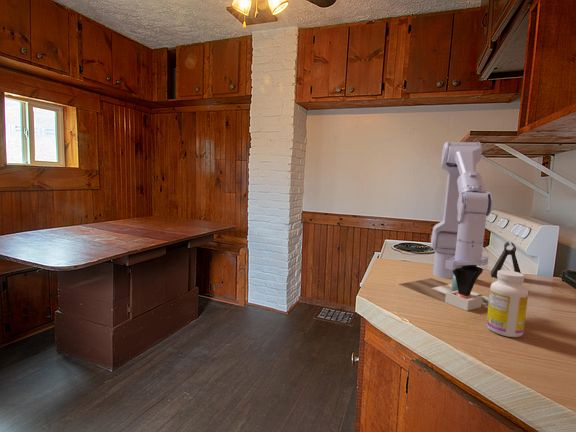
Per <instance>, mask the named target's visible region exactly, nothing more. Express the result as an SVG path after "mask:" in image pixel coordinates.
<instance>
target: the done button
mask: <svg viewBox="0 0 576 432" xmlns="http://www.w3.org/2000/svg"><path fill="white" fill-rule="evenodd" d="M456 295H457V296H460V297H462V298H465V299H470V298H472V295H469V296H464V295H461V294H459V293H458V292H457V293H456Z"/></svg>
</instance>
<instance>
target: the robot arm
mask: <svg viewBox="0 0 576 432" xmlns="http://www.w3.org/2000/svg"><path fill="white" fill-rule="evenodd" d="M482 153H483V145H482V143H481V142H480V141H476V142H475V141H474V142H471V141H470V142H469V141H468V142H465V141H463V142H461V141H459V142H458V141H457V142H456V141H455V142H453V141H446V142H445V143H443V146H442V152H441V159H440V160H441V161H440V163H441V164H440V166H441V169H443V170H445V171H446V175H447V176H446V178H447V180H446V187H445V188H446V189H445V196H444V197H445V198H444V208H443V217H442V218H443V219H442V221H440V222H438V223H436V224H435V225H434V226H433V227H432V232H431V236H430V248H432V250H434V258H433V268H432V275H433V276H435V277H438V278H441V279H448V280H453V273H454V275H455V278H456V282H457V287H458V293H459V294H461V295H464V296H469V295H470V293H471V291H472V290H473V288H474V286H475V283H476V281H477V280H478V278H479V277H480V275H481V274H482V273H483V271H484V269H483V268H482V267H479V266H486V265H488V264H489V256H485V255H483V250H484V240H485V232H486V225H487V224H486V222H487V217H489V215H490V214H491V211H492V206H493V197H492V194H491V192H490V191H489V190H486V189H485V185H484V180H483V177H482V174H480V172H477V165H478V163H479V162H480V161H481V159H482ZM472 292H473V291H472Z"/></svg>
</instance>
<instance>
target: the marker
mask: <svg viewBox="0 0 576 432" xmlns="http://www.w3.org/2000/svg"><path fill="white" fill-rule="evenodd" d="M451 280H452V282H451V285H452V290H451V292H452V291H456V290H458V287H457V282H456V278H455V275H454V273H453V279H451Z"/></svg>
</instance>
